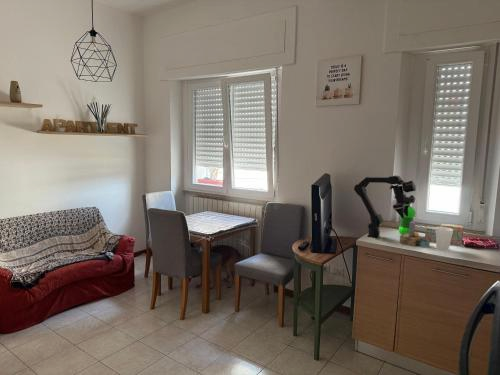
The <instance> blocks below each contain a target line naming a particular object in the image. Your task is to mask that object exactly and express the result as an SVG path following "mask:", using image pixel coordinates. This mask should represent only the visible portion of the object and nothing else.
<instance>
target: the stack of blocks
mask: <svg viewBox="0 0 500 375" xmlns="http://www.w3.org/2000/svg"><path fill="white" fill-rule="evenodd" d="M440 227H446V228H451V229H453V234H452V237H451V241H450V246H451V245H452V246H460V247H461V246H462V245H463V238H464V226H463V225H457V224H451V223H450V224H449V223H447V224H446V223H441V224H440ZM435 230H436V226H427V225H426V226H425V232H424V236H425V238H424V239H425V240H429V241H430V243H436V232H435Z"/></svg>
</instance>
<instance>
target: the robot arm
mask: <svg viewBox="0 0 500 375" xmlns="http://www.w3.org/2000/svg"><path fill="white" fill-rule="evenodd" d="M370 183H371V184H372V183H373V184H374V183H378V184H379V183H380V184H381V183H382V184H383V183H384V184H388V185H389V184H390V187H389V190H391V189H392V190H393V193H394V197H393V198H394V199H395V201H396V202H395V203H394V204H393V205H392V208H393V210H395V212H396V213H398V215H399V216H400V218H401V217H402V218H404V213H405V215H406V216H408V208H409V206H411V205H412V204H414V203H415V201H416V197H415V196H414V195H410V196H407V195H406V194H405V193H412V192H416V185H415V183H414V181H413V180H409V181H406V182H405V180H403V179H402V177H401V176H400V175H397V174H396V175H391V176H366V177H364V179H362V180H361V181H360V182H359V183H358V184H355V185H354V187H353V190H354V192H355V193H356V195H357V196H358V197H360V199H361V201H362V203H363V204H364V206H365V208H366V210H367V212H368V215H369V219H370V223H369V224H368V225H367V228H368V235H367V237H370V238H376V239H378V238H379V237H380V233H381V230H380V227H381V226H382V225H383V223H384V218H383V217H382V214H381V213H379V214H378V213H377V211H376V209H375V208H374V206H373V204H372V201H371V200H370V198H369V196H368V194H367V193H368V192H367V187H368V186H369V184H370ZM408 204H410V205H408Z"/></svg>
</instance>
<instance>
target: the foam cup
mask: <svg viewBox="0 0 500 375" xmlns="http://www.w3.org/2000/svg"><path fill="white" fill-rule="evenodd" d="M435 227H436V226H435ZM435 232H436V249H437V250H438V251H442V252H443V251H444V252H446V251H449V249H450V246H451V244H450V241H451V237H452V234H453V229H451V228H446V227H441V226H437V227H436V230H435Z"/></svg>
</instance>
